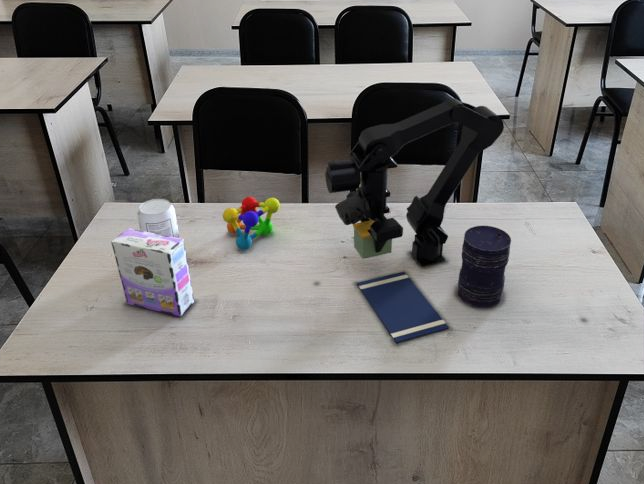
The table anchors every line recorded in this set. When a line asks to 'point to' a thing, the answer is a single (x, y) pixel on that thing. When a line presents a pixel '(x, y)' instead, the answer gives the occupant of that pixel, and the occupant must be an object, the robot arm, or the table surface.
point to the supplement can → (158, 218)
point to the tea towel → (401, 307)
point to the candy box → (154, 271)
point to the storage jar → (483, 266)
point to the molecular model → (250, 220)
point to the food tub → (367, 241)
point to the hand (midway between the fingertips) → (372, 245)
